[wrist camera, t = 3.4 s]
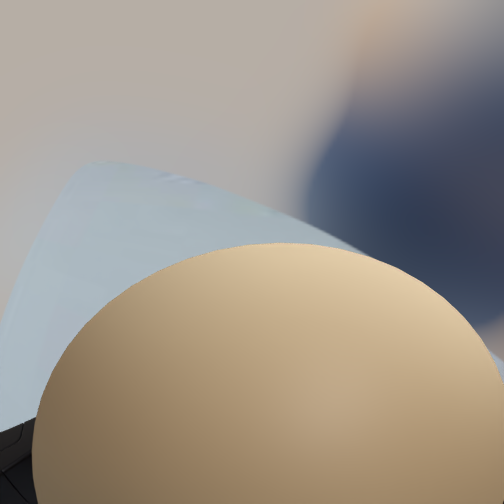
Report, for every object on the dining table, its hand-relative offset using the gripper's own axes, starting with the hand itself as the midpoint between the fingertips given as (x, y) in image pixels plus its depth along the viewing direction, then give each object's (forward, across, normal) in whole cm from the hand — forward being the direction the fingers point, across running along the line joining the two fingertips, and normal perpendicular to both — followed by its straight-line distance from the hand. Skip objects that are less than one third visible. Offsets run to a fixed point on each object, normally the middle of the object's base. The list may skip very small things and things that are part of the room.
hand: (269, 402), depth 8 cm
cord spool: (+4, 0, +6) cm, 7 cm away
